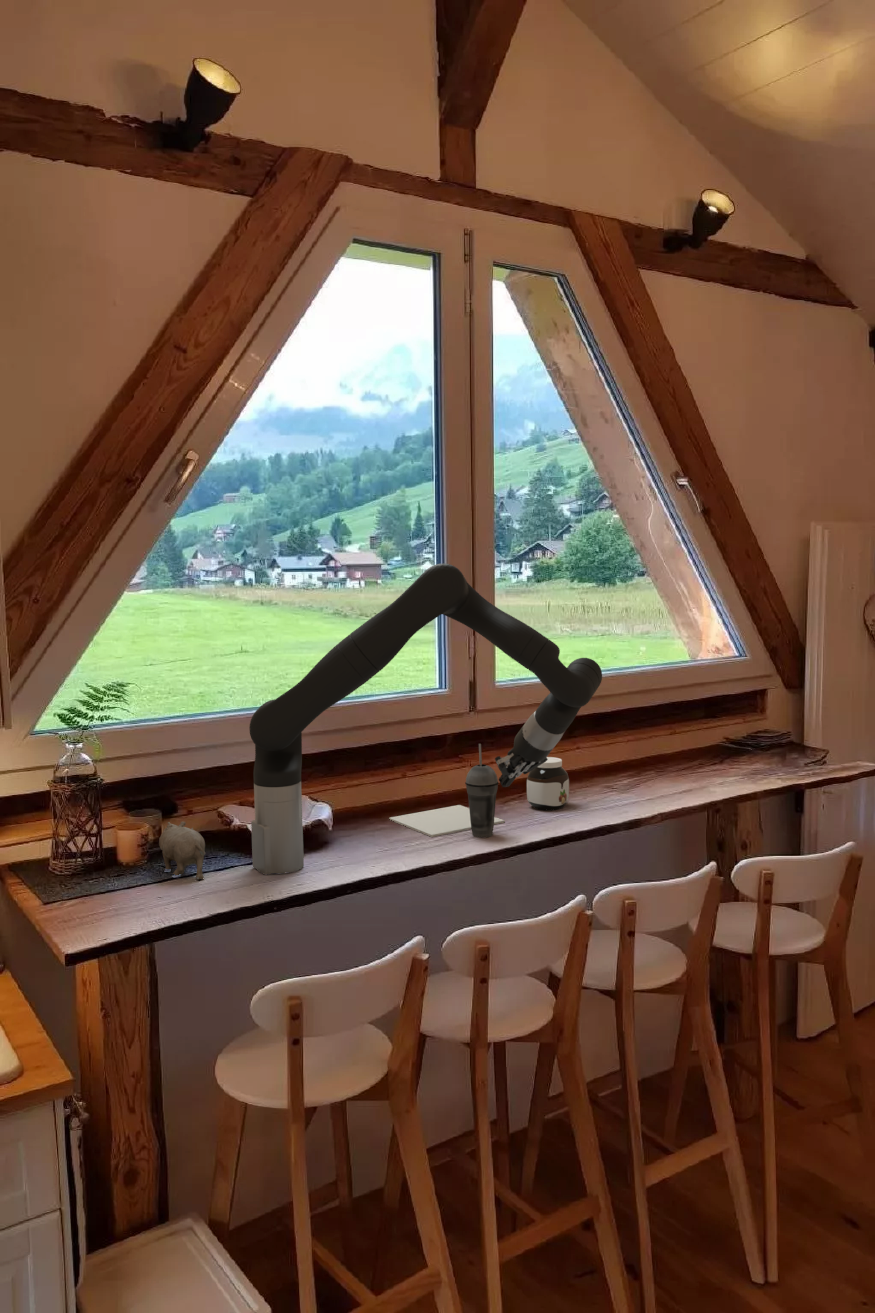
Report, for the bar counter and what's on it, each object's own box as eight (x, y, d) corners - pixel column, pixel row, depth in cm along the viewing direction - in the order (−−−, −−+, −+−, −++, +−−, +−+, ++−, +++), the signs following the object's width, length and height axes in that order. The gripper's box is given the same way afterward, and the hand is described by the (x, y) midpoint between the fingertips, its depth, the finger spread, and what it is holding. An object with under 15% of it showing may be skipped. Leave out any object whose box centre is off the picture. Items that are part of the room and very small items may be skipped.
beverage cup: (471, 840, 216) (470, 748, 214) (461, 831, 223) (460, 742, 221) (503, 837, 218) (502, 746, 216) (492, 829, 225) (492, 740, 223)
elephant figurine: (167, 876, 186) (164, 801, 193) (157, 900, 197) (154, 828, 204) (210, 874, 189) (205, 801, 197) (197, 898, 200) (193, 827, 207)
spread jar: (544, 813, 237) (544, 765, 236) (511, 805, 246) (511, 758, 245) (579, 805, 245) (579, 758, 244) (546, 797, 254) (545, 751, 253)
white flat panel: (431, 837, 219) (431, 835, 219) (389, 819, 234) (389, 817, 234) (504, 822, 230) (504, 820, 230) (459, 806, 245) (459, 804, 245)
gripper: (556, 716, 207) (520, 765, 218) (505, 723, 199) (470, 773, 211) (574, 745, 203) (535, 793, 214) (522, 753, 196) (485, 802, 207)
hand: (503, 783), depth 212 cm, fingers closed
